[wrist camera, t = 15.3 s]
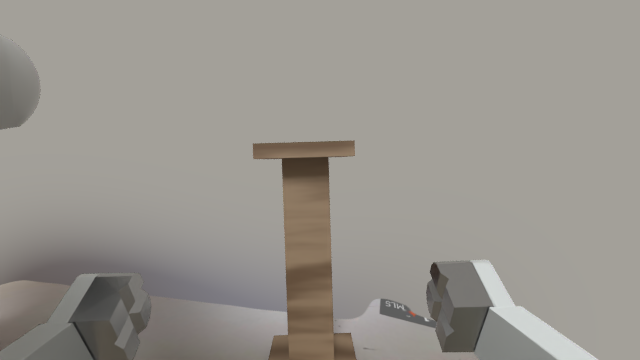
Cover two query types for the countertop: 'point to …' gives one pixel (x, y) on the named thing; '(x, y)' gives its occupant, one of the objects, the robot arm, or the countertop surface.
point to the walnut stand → (308, 251)
